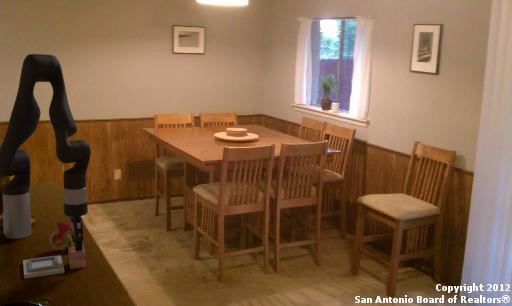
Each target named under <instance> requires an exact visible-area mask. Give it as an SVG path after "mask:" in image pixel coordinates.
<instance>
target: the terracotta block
mask: <svg viewBox="0 0 512 306" xmlns="http://www.w3.org/2000/svg"><path fill="white" fill-rule="evenodd" d="M67 249H68V251H67V252H68V266H69V269H70V270H73V269H80V268H86V267H87V254H86V253H87V252H86V248H85V245H84V244H82V251H76V250H75V245H73V246H72V247H68V248H67Z"/></svg>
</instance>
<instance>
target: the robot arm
mask: <svg viewBox="0 0 512 306" xmlns="http://www.w3.org/2000/svg"><path fill="white" fill-rule="evenodd" d="M36 83H49V84H50V86H51V88H52V98H51V101H50V105H49V107H48V108H49V109H48V116H49V120H50V122H51V126H52V129H53V131H54V136H55V137H54V138H55V154H56V155H55V156H56V158H57V159H58V161H60V163H63V164H72V163H74V164H73V166H72V167H70V168H67V169H66V170H64V172H63V176H62V179H63V182H62V183H63V195H62V196H63V198H62V199H63V215H64V216H65V217H70V218H69V222H70V228H71V230H70V231H71V239H72V241H73V242H75V244H74V246H75V250H76V251H82V245H83V241H84V219H83V217H82V216H86V215H87V214H88V212H89V208H88V207H89V205H88V190H87V173H88V172H87V171H88V167H89V163H90V159H91V155H92V150H91V147H90V144H89V142H88V141H86V140H84V139H76V140H68V138H70V137H72V136H74V135H75V134H76V133H77V131H78V128H77V124H76V122H75V119H74V116H73V114H72V111H71V108H70V105H69V100H68V96H67V95H68V94H67V88H66V83H65V77H64V74H63V70H62V65H61V63H60V60H59V59H58V58H57V56H55V55H53V54H46V53H45V54H41V53H40V54H39V53H30V54H27V55H26V56H25V57H24V59H23V62H22V65H21V71H20V76H19V83H18V88H17V93H16V97H15V99H14V103H13V107H12V110H11V113H10V117H9V121H8V126H7V129H6V132H5V136H4V139H3V141H2V143H1V144H0V145H1V146H0V177H5V178H6V177H12V176H13V177H12V178H11V180H9V181H7V182H6V183H4V184H3V186H2V203H3V211H2V224H3V225H2V227H3V235H4V236H5V238H6V239H11V240H19V239H25V238H27V237H29V236H31V235H32V218H31V217H32V214H31V213H32V212H31V198H30V186H31V159H30V155H29V153H28V152H27V151H26V150H25V149H19V148H20V147H21V146H22V145H23V144H24V143H25V142H26V141H28V139H30V137H31V136H33V134H34V133H35V132H36V130H37V128H38V124H39V121H40V119H41V114H42V113H41V108H40V106H39V104H38V101H37V99H36V97H35V95H34V90H35V85H36Z"/></svg>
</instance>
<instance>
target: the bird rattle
mask: <svg viewBox="0 0 512 306" xmlns="http://www.w3.org/2000/svg"><path fill="white" fill-rule="evenodd" d="M56 227H57V228H58V229H55V230H54V231H52V233H51V234H50V235H49V237H48V239H49V240H48V242H49V245H50V246H51V247H52V248H53V250H54V251H59V250H63V249H66V248H67V249H68V247H72V246H75V242H73V241H72V237H71V236H70V233H69V232H68V231H71V228H70V221H68V222H64V221H63V222H57V223H56Z"/></svg>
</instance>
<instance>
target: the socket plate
mask: <svg viewBox="0 0 512 306" xmlns="http://www.w3.org/2000/svg"><path fill="white" fill-rule="evenodd" d="M22 264H23V265H22V266H23V277H24V278H23V279H30V278H31V279H32V278H37V277H44V276H45V277H46V276H52V275H53V276H54V275H59V274H65V266H64V263H63V258H62V255H51V256H43V257H35V258H28V259H23V260H22Z"/></svg>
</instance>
